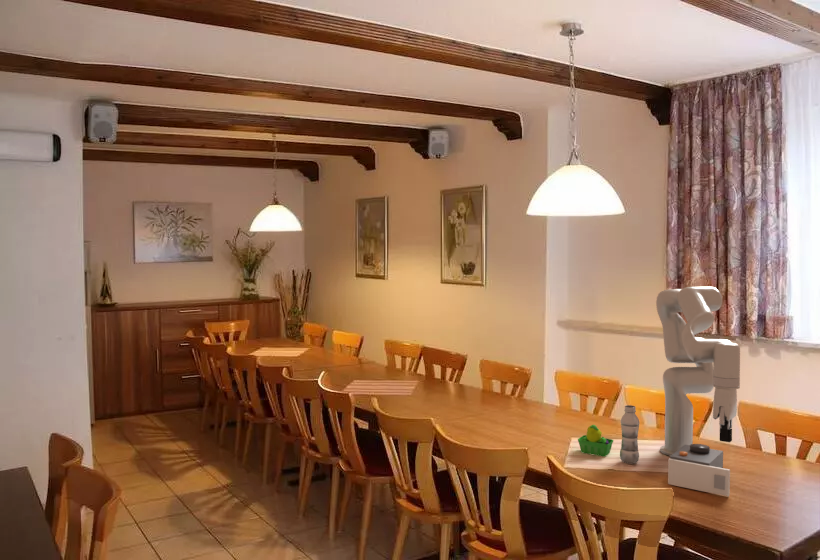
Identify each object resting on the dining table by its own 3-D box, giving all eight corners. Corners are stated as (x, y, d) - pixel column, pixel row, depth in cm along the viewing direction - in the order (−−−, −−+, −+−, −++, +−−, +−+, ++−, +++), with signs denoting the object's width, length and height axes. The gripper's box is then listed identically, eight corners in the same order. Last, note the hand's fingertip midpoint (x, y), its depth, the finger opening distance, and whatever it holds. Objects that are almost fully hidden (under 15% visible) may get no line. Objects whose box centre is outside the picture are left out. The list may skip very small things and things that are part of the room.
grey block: (684, 470, 235) (685, 439, 235) (722, 478, 228) (723, 446, 227) (669, 483, 223) (670, 451, 222) (708, 492, 215) (709, 458, 215)
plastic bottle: (635, 459, 247) (635, 404, 246) (641, 465, 241) (642, 408, 239) (617, 459, 247) (617, 404, 246) (623, 466, 240) (624, 408, 239)
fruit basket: (614, 453, 255) (614, 422, 255) (606, 459, 248) (606, 428, 247) (584, 448, 262) (584, 418, 261) (575, 454, 254) (575, 423, 254)
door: (669, 482, 222) (669, 458, 222) (729, 495, 211) (730, 469, 211) (667, 484, 221) (667, 459, 220) (727, 497, 210) (728, 471, 209)
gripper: (719, 377, 224) (719, 434, 224) (706, 384, 212) (706, 444, 213) (745, 380, 219) (744, 438, 220) (733, 387, 207) (732, 448, 208)
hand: (725, 441), depth 216 cm, fingers closed
